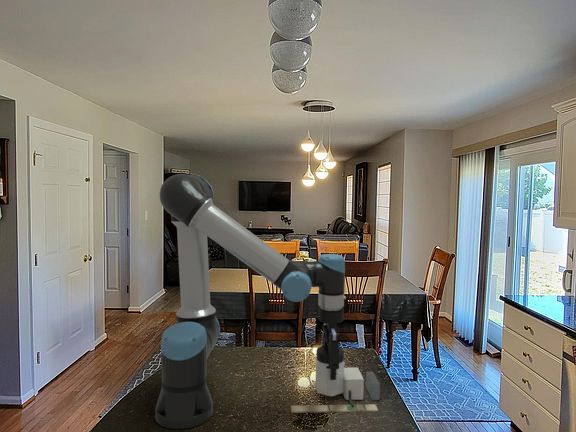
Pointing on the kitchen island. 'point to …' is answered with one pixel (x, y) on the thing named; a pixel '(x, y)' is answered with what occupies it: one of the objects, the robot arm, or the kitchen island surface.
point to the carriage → (353, 385)
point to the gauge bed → (333, 408)
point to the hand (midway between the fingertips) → (329, 381)
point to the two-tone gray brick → (373, 385)
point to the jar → (323, 372)
